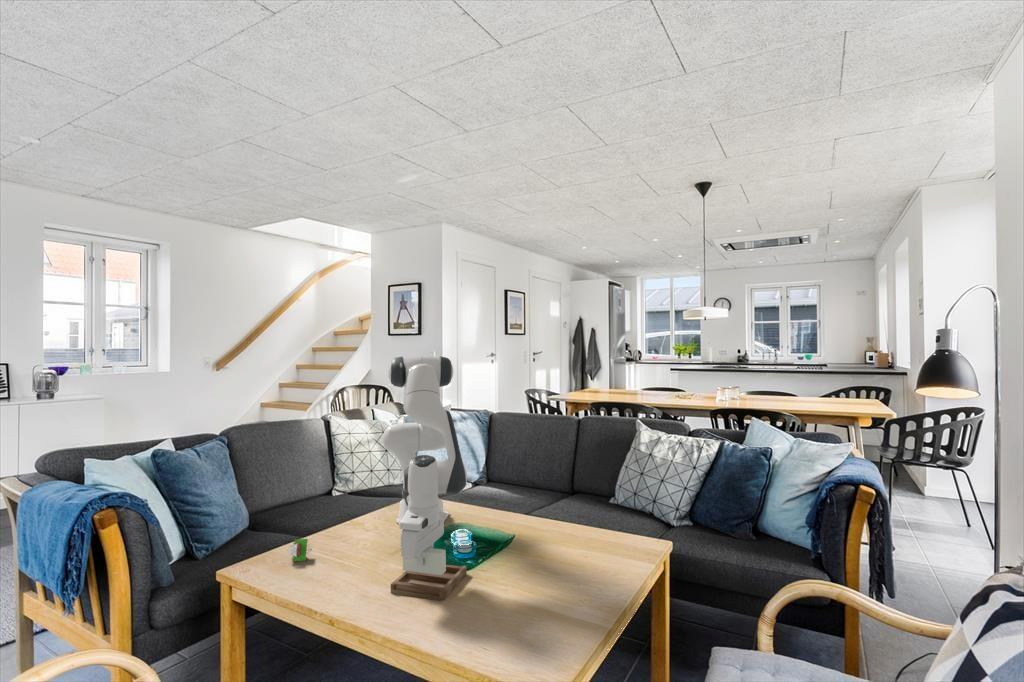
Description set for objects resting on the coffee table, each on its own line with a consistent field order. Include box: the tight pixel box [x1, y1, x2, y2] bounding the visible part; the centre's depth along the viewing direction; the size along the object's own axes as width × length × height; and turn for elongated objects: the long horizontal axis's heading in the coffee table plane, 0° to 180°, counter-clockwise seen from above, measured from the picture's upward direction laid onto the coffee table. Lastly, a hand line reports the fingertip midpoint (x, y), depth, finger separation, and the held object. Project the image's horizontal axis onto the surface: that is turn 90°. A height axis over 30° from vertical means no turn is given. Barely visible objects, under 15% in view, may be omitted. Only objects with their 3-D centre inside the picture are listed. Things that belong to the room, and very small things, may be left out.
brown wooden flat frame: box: [390, 564, 468, 602], centre depth 159 cm, size 17×16×2 cm
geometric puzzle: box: [287, 538, 313, 562], centre depth 176 cm, size 7×7×8 cm
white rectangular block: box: [402, 547, 447, 575], centre depth 155 cm, size 3×12×6 cm, turn 73°
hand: (424, 562), depth 155 cm, fingers closed on white rectangular block, 3 cm apart
